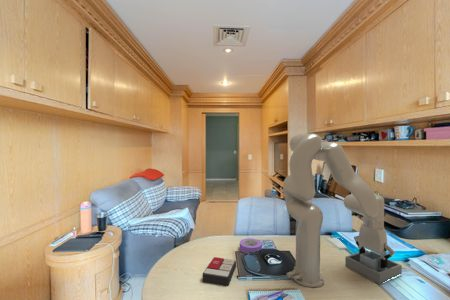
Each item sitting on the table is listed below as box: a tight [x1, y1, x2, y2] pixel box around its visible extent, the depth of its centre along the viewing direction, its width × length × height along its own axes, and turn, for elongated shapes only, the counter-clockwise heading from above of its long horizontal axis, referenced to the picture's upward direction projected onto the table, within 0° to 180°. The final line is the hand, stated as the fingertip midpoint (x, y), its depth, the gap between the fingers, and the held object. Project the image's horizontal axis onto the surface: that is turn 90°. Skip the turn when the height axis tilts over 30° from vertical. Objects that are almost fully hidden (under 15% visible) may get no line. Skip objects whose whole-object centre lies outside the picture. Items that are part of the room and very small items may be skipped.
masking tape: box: [239, 237, 263, 254], centre depth 119 cm, size 12×12×4 cm
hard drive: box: [326, 237, 347, 251], centre depth 125 cm, size 2×8×12 cm
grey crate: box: [344, 249, 403, 286], centre depth 99 cm, size 15×15×4 cm
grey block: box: [360, 250, 385, 272], centre depth 99 cm, size 8×6×6 cm
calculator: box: [201, 256, 237, 287], centre depth 97 cm, size 11×4×15 cm
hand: (372, 262), depth 99 cm, fingers open, 8 cm apart
